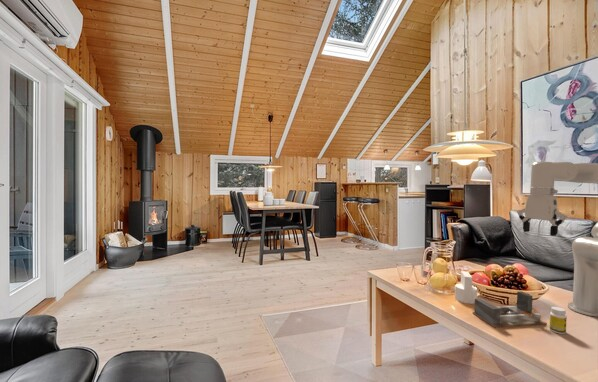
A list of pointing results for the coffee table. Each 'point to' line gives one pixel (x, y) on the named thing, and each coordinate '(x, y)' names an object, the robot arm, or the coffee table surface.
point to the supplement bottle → (558, 320)
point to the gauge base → (504, 315)
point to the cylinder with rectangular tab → (465, 289)
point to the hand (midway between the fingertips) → (539, 233)
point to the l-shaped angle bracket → (521, 305)
